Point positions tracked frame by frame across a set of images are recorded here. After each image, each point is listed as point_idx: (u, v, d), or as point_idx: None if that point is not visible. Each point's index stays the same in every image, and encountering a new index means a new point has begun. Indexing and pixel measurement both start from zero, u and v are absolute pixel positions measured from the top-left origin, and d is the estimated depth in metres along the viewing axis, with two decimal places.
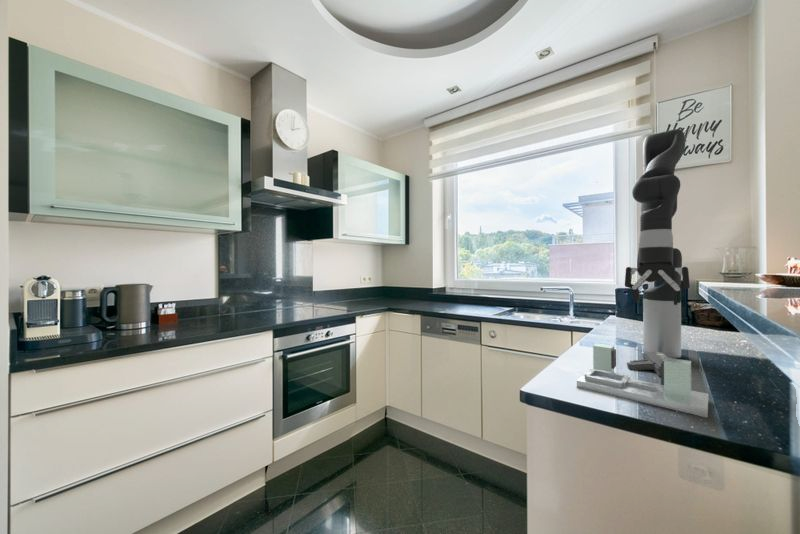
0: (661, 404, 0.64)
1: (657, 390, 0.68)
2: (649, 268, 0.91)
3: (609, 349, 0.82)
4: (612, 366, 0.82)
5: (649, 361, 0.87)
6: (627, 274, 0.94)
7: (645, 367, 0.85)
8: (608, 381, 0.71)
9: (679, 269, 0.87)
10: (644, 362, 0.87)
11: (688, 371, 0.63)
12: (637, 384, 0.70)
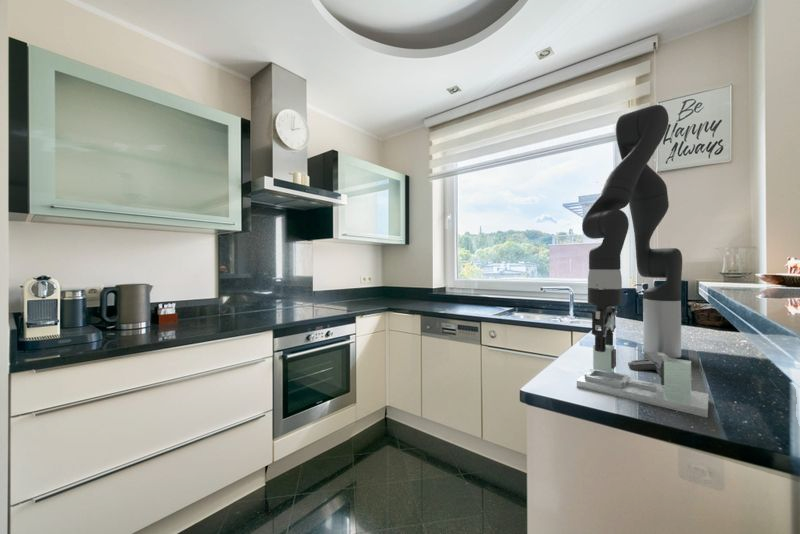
0: (661, 404, 0.64)
1: (657, 390, 0.68)
2: (608, 311, 0.82)
3: (609, 349, 0.82)
4: (612, 366, 0.82)
5: (650, 361, 0.87)
6: (603, 320, 0.79)
7: (646, 367, 0.85)
8: (608, 381, 0.71)
9: None
10: (645, 362, 0.87)
11: (688, 371, 0.63)
12: (637, 384, 0.70)
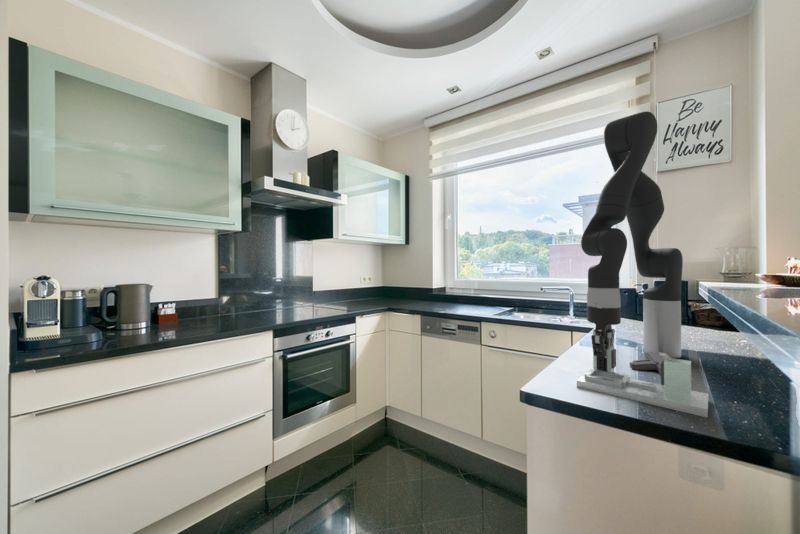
0: (661, 404, 0.64)
1: (657, 390, 0.68)
2: (607, 329, 0.83)
3: (609, 349, 0.82)
4: (612, 366, 0.82)
5: (652, 361, 0.87)
6: (603, 344, 0.80)
7: (648, 367, 0.85)
8: (608, 381, 0.71)
9: None
10: (647, 362, 0.87)
11: (688, 371, 0.63)
12: (637, 384, 0.70)
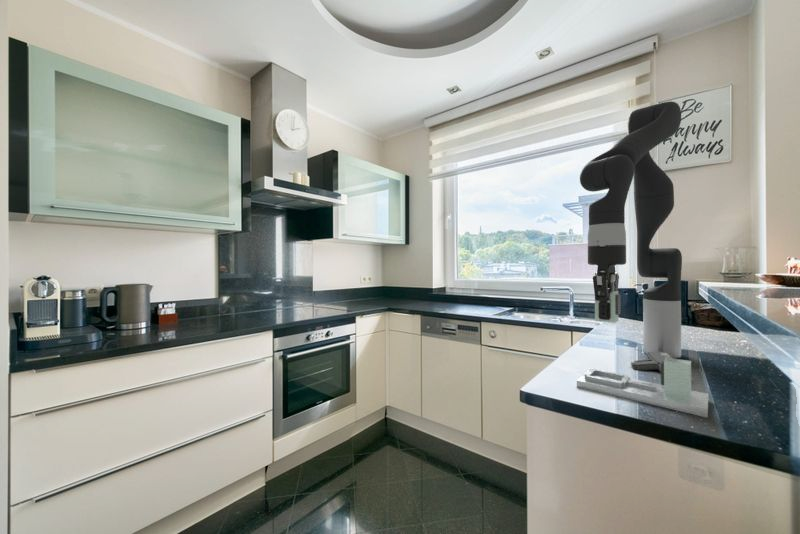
0: (661, 404, 0.64)
1: (657, 390, 0.68)
2: (610, 271, 0.73)
3: (613, 293, 0.72)
4: (616, 312, 0.72)
5: (653, 361, 0.87)
6: (606, 285, 0.70)
7: (649, 367, 0.85)
8: (608, 381, 0.71)
9: None
10: (648, 362, 0.87)
11: (688, 371, 0.63)
12: (637, 384, 0.70)
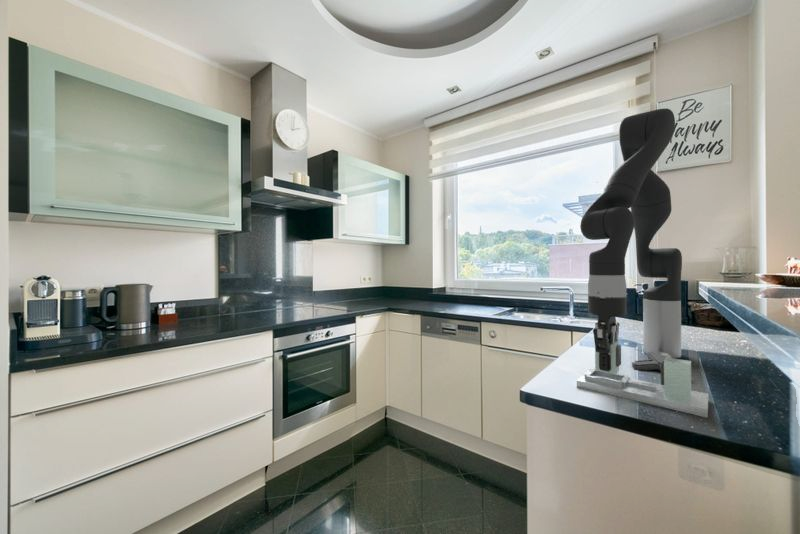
0: (661, 404, 0.64)
1: (657, 390, 0.68)
2: (611, 322, 0.73)
3: (613, 344, 0.72)
4: (617, 364, 0.72)
5: (654, 361, 0.87)
6: (607, 339, 0.70)
7: (650, 367, 0.85)
8: (608, 381, 0.71)
9: None
10: (649, 362, 0.87)
11: (688, 371, 0.63)
12: (637, 384, 0.70)
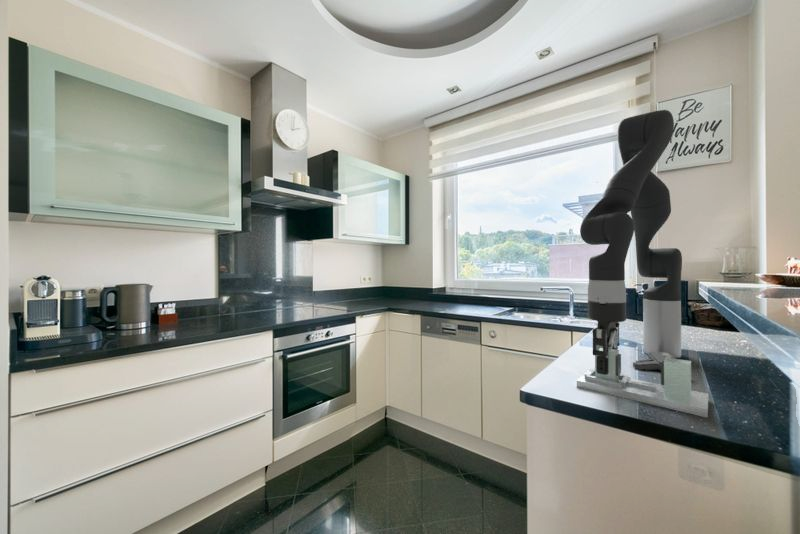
0: (661, 404, 0.64)
1: (657, 390, 0.68)
2: (611, 327, 0.73)
3: (613, 354, 0.72)
4: (616, 373, 0.72)
5: (655, 361, 0.87)
6: (605, 340, 0.69)
7: (651, 367, 0.85)
8: (608, 381, 0.71)
9: None
10: (650, 362, 0.87)
11: (688, 371, 0.63)
12: (637, 384, 0.70)
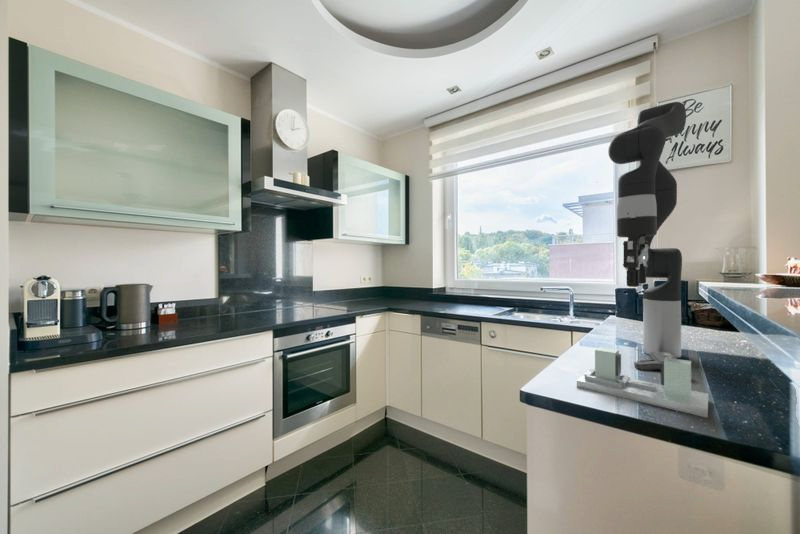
0: (661, 404, 0.64)
1: (657, 390, 0.68)
2: (641, 242, 0.74)
3: (613, 354, 0.72)
4: (616, 373, 0.72)
5: (656, 361, 0.87)
6: (637, 250, 0.70)
7: (653, 367, 0.85)
8: (608, 381, 0.71)
9: None
10: (652, 362, 0.87)
11: (688, 371, 0.63)
12: (637, 384, 0.70)
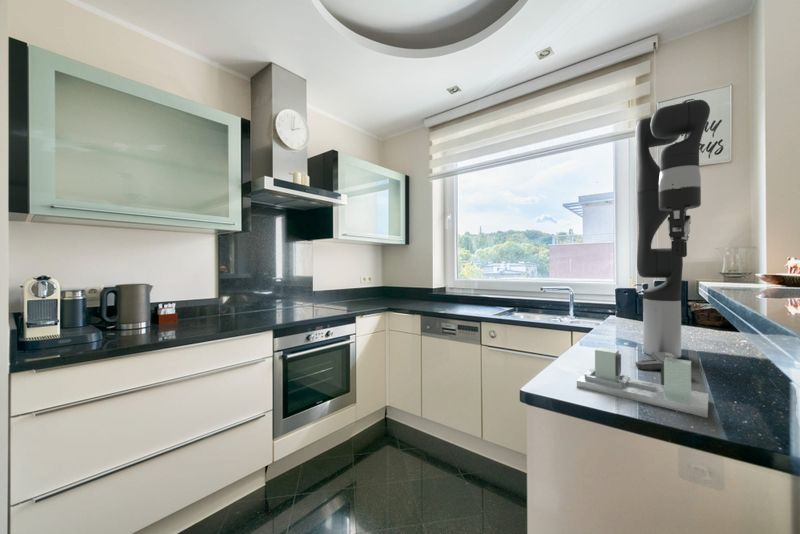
0: (661, 404, 0.64)
1: (657, 390, 0.68)
2: (685, 214, 0.74)
3: (613, 354, 0.72)
4: (616, 373, 0.72)
5: (658, 361, 0.87)
6: (683, 219, 0.71)
7: (654, 367, 0.85)
8: (608, 381, 0.71)
9: None
10: (653, 362, 0.87)
11: (688, 371, 0.63)
12: (637, 384, 0.70)
